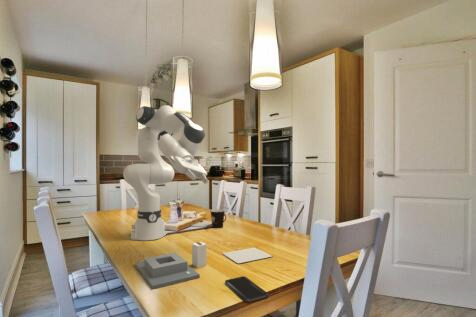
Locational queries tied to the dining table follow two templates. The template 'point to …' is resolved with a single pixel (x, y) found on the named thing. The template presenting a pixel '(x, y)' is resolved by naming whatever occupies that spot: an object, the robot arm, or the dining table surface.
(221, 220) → the coffee mug
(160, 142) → the robot arm
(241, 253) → the paper stack
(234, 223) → the dining table surface
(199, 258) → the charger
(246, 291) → the phone
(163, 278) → the power dock
